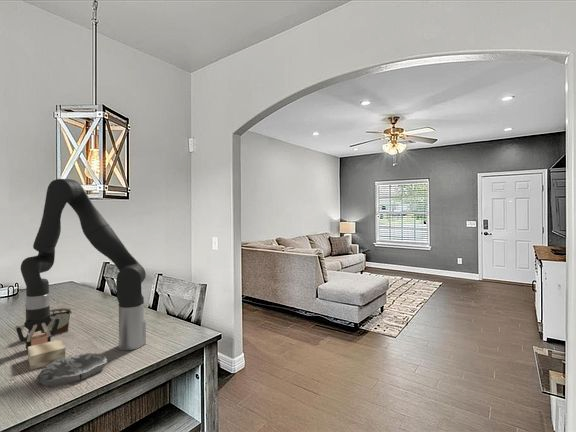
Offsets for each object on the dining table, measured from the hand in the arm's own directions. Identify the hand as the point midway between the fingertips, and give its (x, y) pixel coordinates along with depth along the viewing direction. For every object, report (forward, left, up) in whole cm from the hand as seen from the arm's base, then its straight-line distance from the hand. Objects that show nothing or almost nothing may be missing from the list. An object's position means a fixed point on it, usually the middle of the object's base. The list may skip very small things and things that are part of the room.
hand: (38, 347), depth 124 cm
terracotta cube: (0, 0, 0) cm, 0 cm away
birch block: (0, +13, -1) cm, 13 cm away
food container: (-8, -14, -1) cm, 16 cm away
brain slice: (-4, +30, -1) cm, 30 cm away
